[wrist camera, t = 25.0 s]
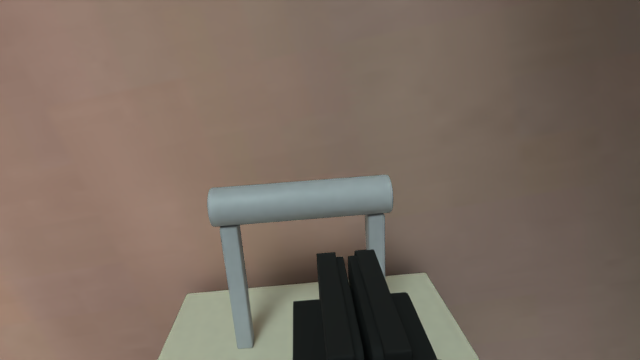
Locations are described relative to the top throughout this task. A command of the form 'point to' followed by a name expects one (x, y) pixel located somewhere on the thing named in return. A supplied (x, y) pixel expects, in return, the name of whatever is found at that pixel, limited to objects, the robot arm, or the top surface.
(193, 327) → the drawer
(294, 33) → the top surface
